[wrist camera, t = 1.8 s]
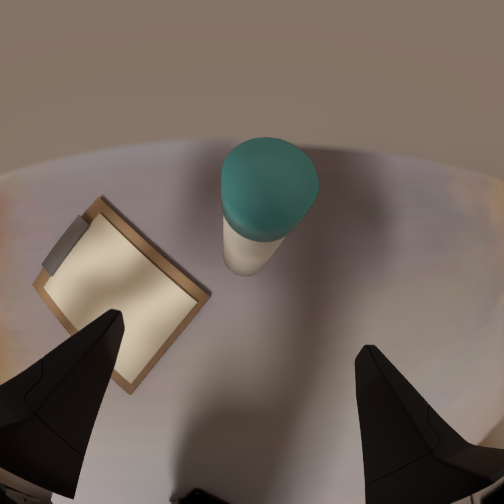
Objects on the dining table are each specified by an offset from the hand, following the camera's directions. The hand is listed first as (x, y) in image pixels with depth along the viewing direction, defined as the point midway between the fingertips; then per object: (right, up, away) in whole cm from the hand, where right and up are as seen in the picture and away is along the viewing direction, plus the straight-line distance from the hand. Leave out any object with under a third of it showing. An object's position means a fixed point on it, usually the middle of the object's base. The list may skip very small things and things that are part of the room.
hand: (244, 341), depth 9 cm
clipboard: (-12, 0, +12) cm, 17 cm away
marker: (0, +3, +14) cm, 14 cm away
